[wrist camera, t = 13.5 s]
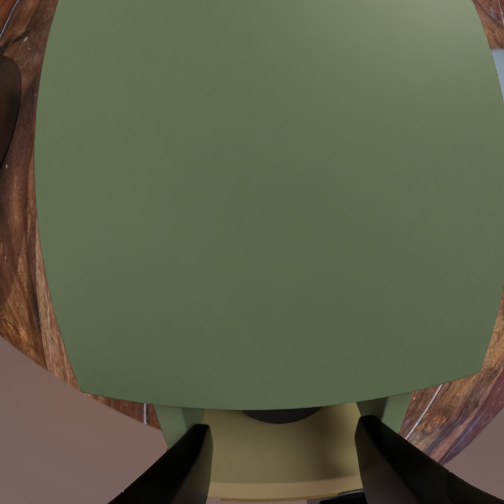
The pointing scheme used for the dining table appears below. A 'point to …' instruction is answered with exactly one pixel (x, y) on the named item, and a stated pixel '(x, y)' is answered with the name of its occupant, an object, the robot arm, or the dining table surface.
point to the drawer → (283, 449)
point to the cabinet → (270, 198)
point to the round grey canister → (8, 101)
